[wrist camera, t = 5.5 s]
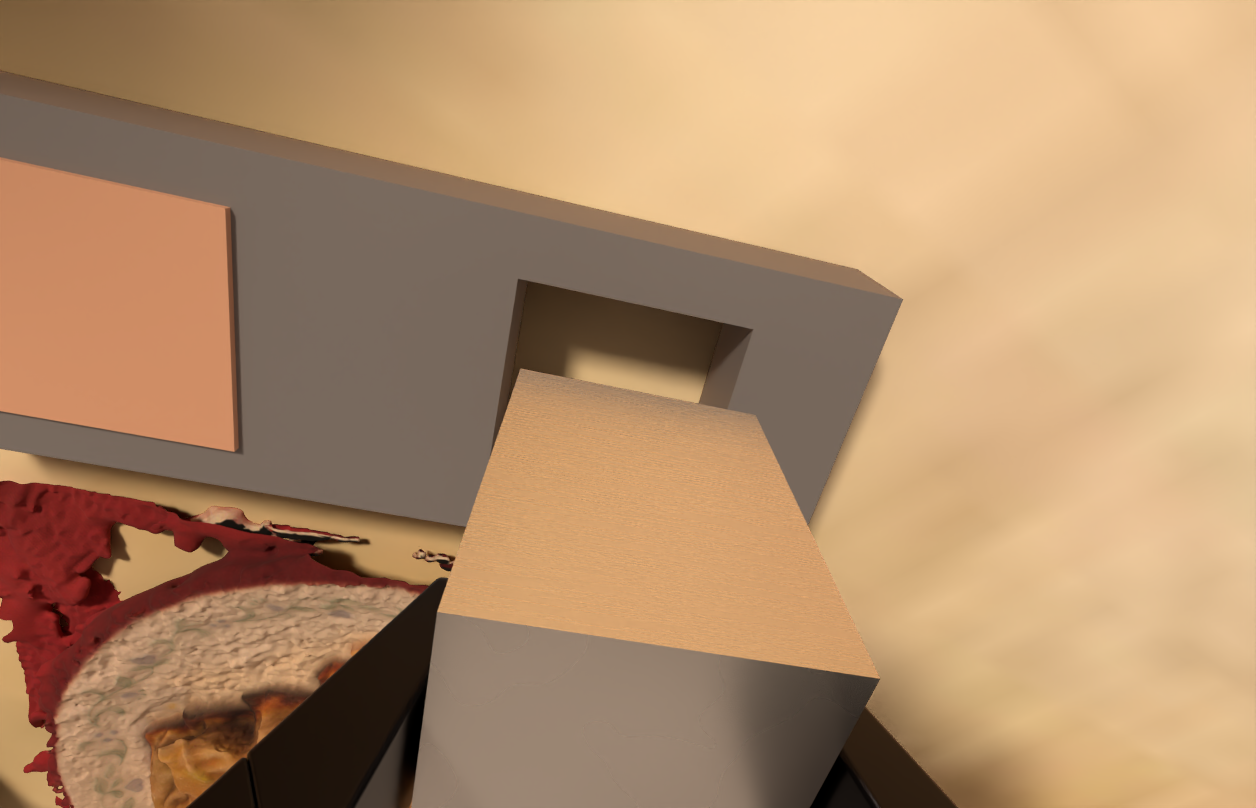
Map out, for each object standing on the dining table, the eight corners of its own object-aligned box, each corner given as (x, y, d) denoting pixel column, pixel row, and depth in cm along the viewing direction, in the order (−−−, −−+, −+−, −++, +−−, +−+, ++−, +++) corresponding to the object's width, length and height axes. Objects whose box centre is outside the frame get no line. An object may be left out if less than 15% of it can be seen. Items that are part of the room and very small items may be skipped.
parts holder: (762, 519, 21) (786, 585, 18) (-33, 376, 18) (-155, 428, 15) (857, 269, 17) (906, 301, 15) (-108, 45, 15) (-287, 30, 12)
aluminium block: (693, 594, 14) (748, 920, 8) (488, 561, 13) (400, 885, 8) (755, 415, 12) (880, 679, 6) (520, 368, 11) (437, 611, 6)
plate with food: (19, 446, 20) (-94, 510, 17) (779, 608, 23) (803, 687, 20) (92, 868, 30) (30, 957, 27) (615, 945, 33) (613, 1033, 30)
